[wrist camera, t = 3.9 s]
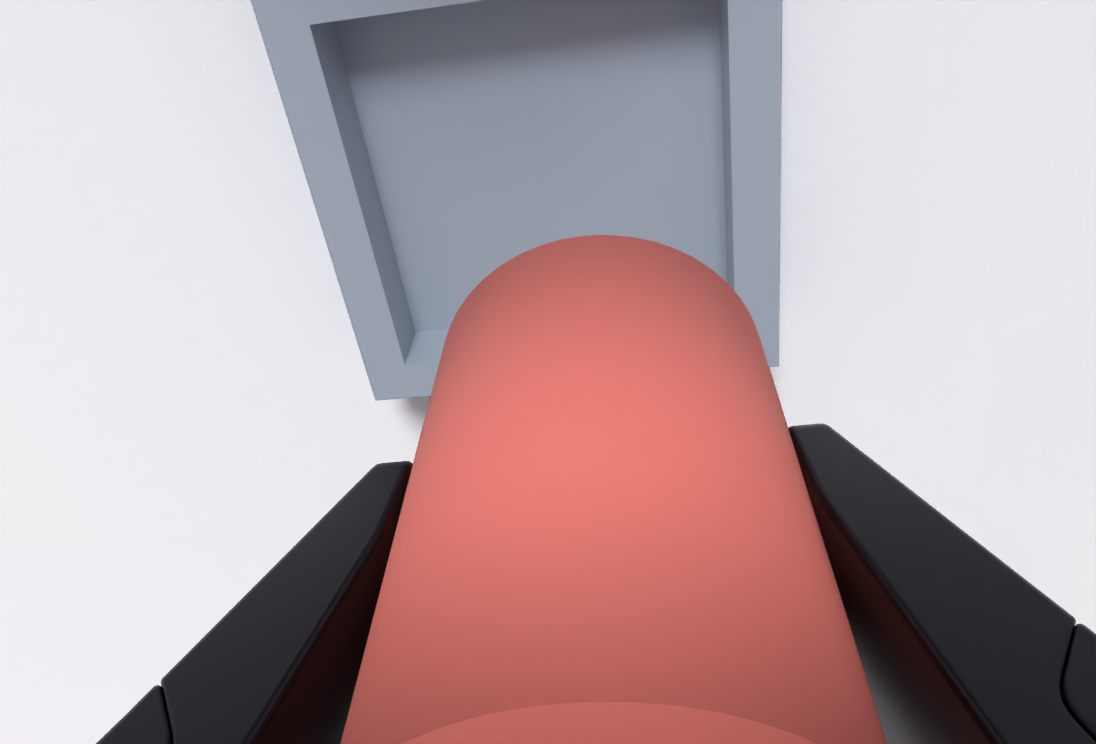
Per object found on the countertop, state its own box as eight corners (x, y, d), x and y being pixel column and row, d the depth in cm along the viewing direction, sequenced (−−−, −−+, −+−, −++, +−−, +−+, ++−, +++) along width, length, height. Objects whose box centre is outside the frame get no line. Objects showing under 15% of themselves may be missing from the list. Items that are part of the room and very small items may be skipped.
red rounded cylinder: (764, 216, 10) (1402, 1758, 2) (762, 489, 12) (1069, 1717, 4) (410, 254, 10) (-125, 1646, 2) (472, 511, 12) (288, 1661, 5)
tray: (765, -117, 17) (783, -104, 15) (765, 322, 22) (778, 366, 21) (276, -42, 18) (243, -24, 16) (391, 356, 24) (375, 400, 22)
